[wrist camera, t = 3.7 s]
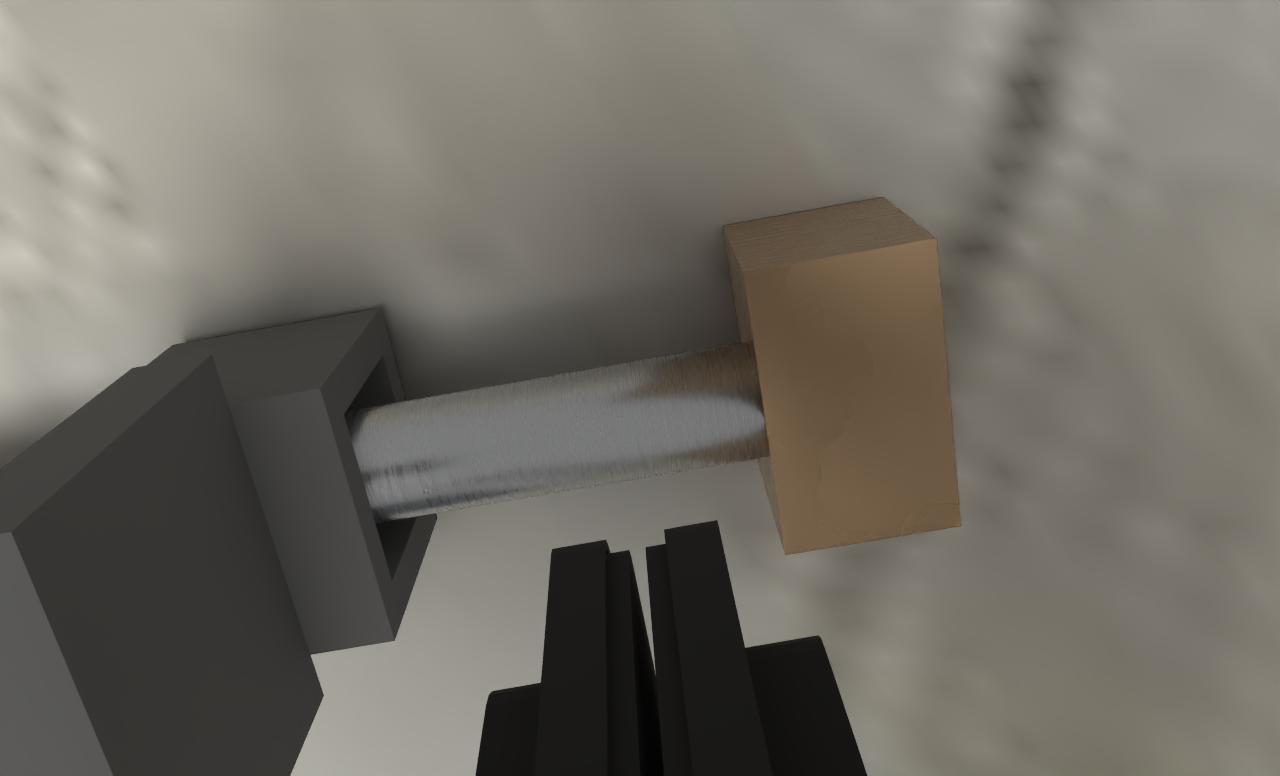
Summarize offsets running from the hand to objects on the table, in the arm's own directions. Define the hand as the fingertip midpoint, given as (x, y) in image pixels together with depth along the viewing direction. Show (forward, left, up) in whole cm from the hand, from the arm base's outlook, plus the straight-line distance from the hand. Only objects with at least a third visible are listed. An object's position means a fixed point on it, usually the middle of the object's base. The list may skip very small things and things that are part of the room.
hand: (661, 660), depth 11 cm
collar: (+7, +1, -11) cm, 13 cm away
